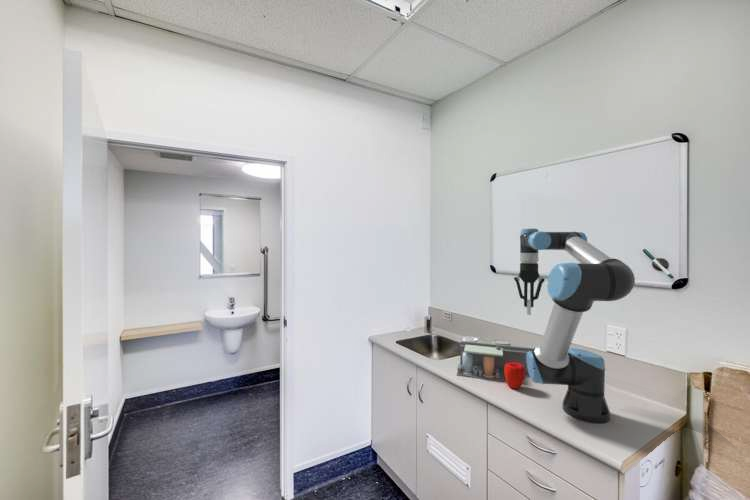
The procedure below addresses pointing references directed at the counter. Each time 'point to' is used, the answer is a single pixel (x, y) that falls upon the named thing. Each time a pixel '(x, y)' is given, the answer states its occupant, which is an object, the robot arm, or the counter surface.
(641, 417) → the counter surface
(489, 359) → the peg
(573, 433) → the counter surface
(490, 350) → the lid
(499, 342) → the disposable coffee cup
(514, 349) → the housing
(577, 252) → the robot arm
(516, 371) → the apple
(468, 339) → the cup
